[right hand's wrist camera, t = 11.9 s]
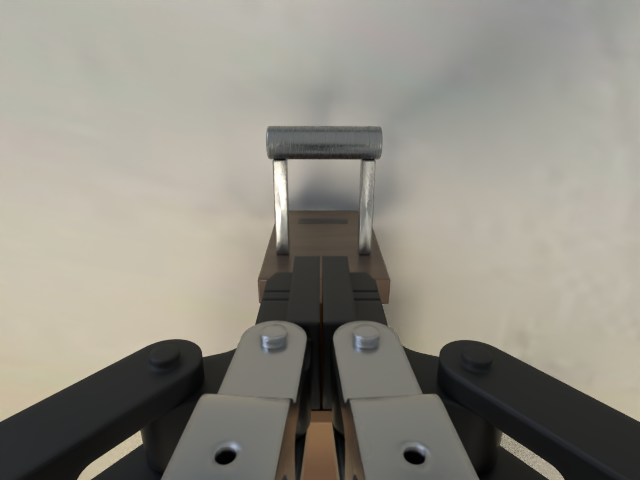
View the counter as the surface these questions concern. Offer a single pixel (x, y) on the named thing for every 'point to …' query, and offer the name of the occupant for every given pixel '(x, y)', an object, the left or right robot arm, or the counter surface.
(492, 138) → the counter surface
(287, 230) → the drawer
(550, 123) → the counter surface
